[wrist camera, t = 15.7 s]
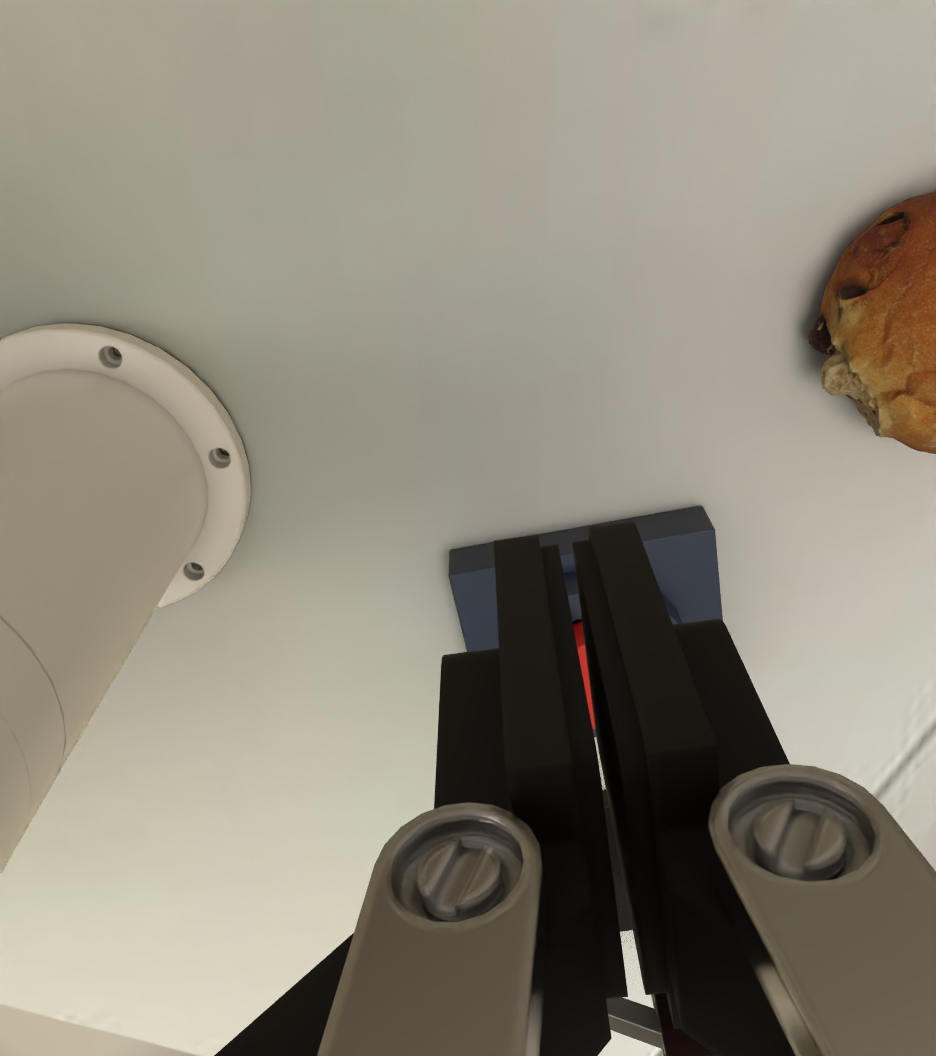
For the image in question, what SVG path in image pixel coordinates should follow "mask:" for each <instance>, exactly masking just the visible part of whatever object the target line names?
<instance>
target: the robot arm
mask: <svg viewBox="0 0 936 1056" xmlns="http://www.w3.org/2000/svg"><path fill="white" fill-rule="evenodd" d="M113 347H114V348H116V349H117V350H118V351H119V352H120V354H121V355H122V357H118V356H116V355H115V354H114V352H113ZM219 448H222V449H224V450H226V451H227V452H228V453H229V455H224V454H222V453H221V452H220V451H219ZM250 497H251V486H250V473H249V465H248V461H247V458H246V454H245V451H244V447H243V444H242V440H241V438H240V436H239V434H238V432H237V430H236V428H235V426H234V424H233V422H232V420H231V418H230V416H229V414H228V412H227V411H226V410H225V408H224V407H223V406H222V404H221V403H220V402H219V400H218V399H217V398H216V396H215V395H214V394H213V392H212V391H211V390H210V388H209V387H208V386H207V385H206V384H204V383H203V382H202V381H201V380H200V379H199V378H198V377H197V376H196V375H195V374H194V373H193V372H192V371H191V370H190V369H189V368H188V367H187V366H185V365H184V364H182V363H181V362H179V361H178V360H176V359H175V358H173V357H172V356H170V355H169V354H168V353H166V352H165V351H163V350H162V349H160V348H158V347H156V346H154V345H152V344H150V343H148V342H145V341H143V340H141V339H139V338H137V337H135V336H132V335H130V334H127V333H123V332H119V331H116V330H112V329H108V328H105V327H101V326H95V325H84V324H72V323H62V324H52V325H43V326H35V327H32V328H29V329H26V330H23V331H20V332H17V333H13V334H10V335H8V336H6V337H4V338H3V339H1V340H0V875H1V874H2V872H3V870H4V868H5V866H6V865H7V863H8V861H9V859H10V857H11V856H12V854H13V852H14V850H15V848H16V846H17V845H18V843H19V841H20V839H21V838H22V836H23V834H24V832H25V831H26V829H27V827H28V825H29V824H30V822H31V820H32V819H33V817H34V815H35V813H36V812H37V810H38V808H39V806H40V805H41V803H42V801H43V800H44V798H45V796H46V794H47V793H48V791H49V789H50V787H51V786H52V784H53V782H54V781H55V779H56V777H57V775H58V773H59V772H60V770H61V768H62V767H63V765H64V763H65V762H66V760H67V758H68V756H69V755H70V753H71V751H72V750H73V748H74V746H75V745H76V743H77V741H78V739H79V738H80V736H81V734H82V733H83V731H84V729H85V728H86V726H87V724H88V722H89V721H90V719H91V717H92V716H93V714H94V712H95V711H96V709H97V707H98V705H99V704H100V702H101V700H102V699H103V697H104V695H105V694H106V692H107V690H108V688H109V687H110V685H111V683H112V682H113V680H114V678H115V677H116V675H117V673H118V671H119V670H120V668H121V666H122V665H123V663H124V661H125V660H126V658H127V656H128V655H129V653H130V651H131V649H132V648H133V646H134V644H135V643H136V641H137V639H138V638H139V636H140V634H141V632H142V631H143V629H144V627H145V626H146V624H147V622H148V621H149V619H150V617H151V615H152V614H153V612H154V610H155V609H156V608H160V607H163V606H167V605H171V604H173V603H175V602H177V601H179V600H181V599H183V598H185V597H187V596H190V595H192V594H194V593H195V592H196V591H198V590H199V589H200V588H201V587H203V586H204V585H205V584H207V583H208V582H209V581H211V580H212V579H213V578H214V577H215V576H216V574H217V573H218V572H219V571H220V570H221V568H222V567H223V566H224V565H225V564H226V562H227V561H228V560H229V558H230V556H231V555H232V553H233V551H234V549H235V547H236V545H237V544H238V542H239V540H240V537H241V534H242V531H243V529H244V526H245V523H246V521H247V518H248V511H249V504H250ZM588 535H589V540H582V541H575V542H572V545H573V554H574V563H575V571H576V579H577V587H578V595H579V603H580V611H581V619H582V627H583V635H584V643H585V651H586V659H587V667H588V675H589V683H590V691H591V699H592V707H593V715H594V723H595V730H596V736H597V743H598V748H599V754H600V759H601V764H602V770H603V775H604V780H605V785H606V791H607V796H608V801H609V806H610V812H611V817H612V822H613V828H614V833H615V838H616V843H617V849H618V854H619V859H620V864H621V870H622V875H623V880H624V886H625V891H626V896H627V901H628V907H629V912H630V917H631V922H632V928H633V933H634V938H635V943H636V949H637V954H638V959H639V965H640V970H641V975H642V980H643V985H644V990H645V994H646V995H650V994H660V993H666V994H667V999H668V1004H669V1008H670V1013H671V1018H672V1022H673V1027H674V1029H682V1032H684V1033H685V1034H687V1035H688V1036H690V1037H691V1038H692V1039H694V1040H695V1041H697V1042H698V1043H700V1044H701V1045H702V1046H704V1047H705V1048H707V1049H708V1050H710V1051H711V1052H712V1053H714V1054H715V1055H717V1056H936V871H935V870H934V869H933V868H932V866H931V865H930V864H929V863H928V861H927V860H926V859H925V857H924V856H923V855H922V854H921V852H920V851H919V850H918V849H917V847H916V846H915V845H914V844H913V842H912V841H911V840H910V839H909V837H908V836H907V835H906V834H905V832H904V831H903V830H902V829H901V827H900V826H899V825H898V823H897V822H896V821H895V820H894V818H893V817H892V816H891V815H890V813H889V812H888V811H887V810H886V808H885V807H884V806H883V805H882V804H881V803H880V802H879V801H878V800H877V799H876V798H875V797H874V796H873V795H871V794H870V793H869V792H868V791H867V790H866V789H865V788H864V787H862V786H860V785H858V784H856V783H855V782H853V781H851V780H849V779H847V778H846V777H844V776H842V775H840V774H837V773H833V772H830V771H827V770H824V769H820V768H817V767H813V766H802V765H792V764H789V761H788V759H787V757H786V755H785V753H784V751H783V748H782V746H781V744H780V742H779V740H778V738H777V735H776V733H775V731H774V729H773V727H772V725H771V722H770V720H769V718H768V716H767V714H766V712H765V710H764V707H763V705H762V703H761V701H760V699H759V697H758V694H757V692H756V690H755V688H754V686H753V684H752V681H751V679H750V677H749V675H748V673H747V671H746V668H745V666H744V664H743V662H742V660H741V658H740V655H739V653H738V651H737V649H736V647H735V645H734V643H733V640H732V638H731V636H730V634H729V632H728V630H727V627H726V626H725V624H724V622H723V621H722V620H721V619H719V618H718V619H711V620H703V621H696V622H688V623H681V624H672V621H671V618H670V616H669V613H668V610H667V608H666V605H665V602H664V599H663V597H662V594H661V591H660V589H659V586H658V583H657V580H656V578H655V575H654V572H653V569H652V567H651V564H650V561H649V559H648V556H647V553H646V550H645V548H644V545H643V542H642V540H641V537H640V534H639V531H638V529H637V526H636V524H635V522H634V521H631V522H624V523H617V524H610V525H603V526H596V527H589V528H588ZM494 557H495V577H496V597H497V618H498V638H499V648H494V649H486V650H479V651H471V652H464V653H456V654H449V655H444V656H443V657H442V664H441V681H440V701H439V722H438V742H437V762H436V783H435V803H434V809H433V810H431V811H428V812H425V813H422V814H420V815H419V816H417V817H416V818H414V819H413V820H411V821H410V822H408V823H407V824H405V825H403V826H402V827H401V828H400V829H399V830H398V831H397V832H396V833H395V834H394V835H393V836H392V837H391V838H390V839H389V840H388V842H387V843H386V844H385V845H384V847H383V849H382V851H381V853H380V855H379V857H378V859H377V861H376V863H375V865H374V869H373V872H372V875H371V879H370V882H369V885H368V889H367V892H366V895H365V899H364V902H363V905H362V909H361V912H360V915H359V918H358V922H357V925H356V928H355V932H354V933H353V934H352V935H351V936H350V937H349V938H347V939H346V940H345V941H344V942H343V943H342V944H341V945H339V946H338V947H337V948H336V949H335V950H334V951H333V952H332V953H330V954H329V955H328V956H327V957H326V958H325V959H324V960H322V961H321V962H320V963H319V964H318V965H317V966H316V967H314V968H313V969H312V970H311V971H310V972H309V973H308V974H307V975H305V976H304V977H303V978H302V979H301V980H300V981H299V982H297V983H296V984H295V985H294V986H293V987H292V988H291V989H289V990H288V991H287V992H286V993H285V994H284V995H283V996H282V997H280V998H279V999H278V1000H277V1001H276V1002H275V1003H274V1004H272V1005H271V1006H270V1007H269V1008H268V1009H267V1010H266V1011H264V1012H263V1013H262V1014H261V1015H260V1016H259V1017H258V1018H257V1019H255V1020H254V1021H253V1022H252V1023H251V1024H250V1025H249V1026H247V1027H246V1028H245V1029H244V1030H243V1031H242V1032H241V1033H239V1034H238V1035H237V1036H236V1037H235V1038H234V1039H233V1040H232V1041H230V1042H229V1043H228V1044H227V1045H226V1046H225V1047H224V1048H222V1049H221V1050H220V1051H219V1052H218V1053H217V1054H216V1055H214V1056H598V1054H599V1053H600V1052H601V1051H602V1049H603V1048H604V1047H605V1046H606V1044H607V1043H608V1042H609V1041H610V1040H611V1031H610V1024H609V1017H608V1010H607V1003H606V999H611V998H621V997H628V993H627V985H626V977H625V969H624V961H623V953H622V945H621V937H620V929H619V921H618V913H617V905H616V897H615V889H614V881H613V873H612V865H611V857H610V849H609V841H608V833H607V825H606V817H605V809H604V801H603V793H602V785H601V778H600V771H599V764H598V758H597V751H596V745H595V740H594V734H593V729H592V723H591V718H590V713H589V707H588V702H587V697H586V691H585V686H584V680H583V675H582V670H581V664H580V659H579V654H578V648H577V643H576V638H575V632H574V627H573V621H572V616H571V611H570V605H569V600H568V595H567V589H566V584H565V579H564V573H563V568H562V562H561V557H560V552H559V546H558V544H554V545H547V546H540V542H539V535H533V536H526V537H519V538H512V539H505V540H498V541H494ZM196 563H197V564H199V565H201V566H199V565H197V564H196Z"/></svg>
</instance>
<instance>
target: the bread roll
mask: <svg viewBox="0 0 936 1056" xmlns="http://www.w3.org/2000/svg"><path fill="white" fill-rule="evenodd" d="M807 339H808V340H809V344H810V345H811V346H812V347H813V348H814V349H816V350H817V351H819V352H821V353H823V354H825V357H826V359H827V361H826V362H825V363H824V364H823V367H822V369H821V371H822V373H823V376H822V386H823V388H824V389H826V391H827V392H828V393H829V394H831V395H846V396H848V397H849V398H851V399H854V400H855V401H856V403H857V408H858V411H859V412H860V413H861V414H862V415H863V416H864V417H865V418H866V419H867V423H868V425H870V426H871V427H872V428H873V429H874V432H875V434H876V436H879V437H889V438H894V439H896V440H897V441H899V442H901V443H903V444H905V445H906V446H908V447H910V448H912V449H915V450H917V451H923V452H928V453H933V454H936V191H935V192H932V193H930V194H927V195H920V196H917V197H914V198H911V199H908V200H905V201H904V202H903V203H901V204H898V205H896V206H894V207H892V208H890V209H888V210H887V211H886V212H885V213H883V214H882V215H881V216H880V217H879V218H878V219H877V220H876V221H875V222H874V223H873V224H872V225H871V226H870V227H869V228H868V229H866V230H865V231H864V232H863V233H862V234H860V235H859V236H858V237H856V239H855V240H854V241H853V242H852V243H851V244H850V245H849V246H848V247H847V249H846V250H845V252H844V253H843V255H842V256H841V258H840V259H839V262H838V264H837V266H836V268H835V270H834V272H833V274H832V276H831V278H830V281H829V282H828V284H827V286H826V289H825V293H824V296H823V300H822V304H821V313H819V318H818V320H817V321H816V323H815V324H814V325H813V327H812V328H811V330H810V332H809V335H808V338H807Z"/></svg>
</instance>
